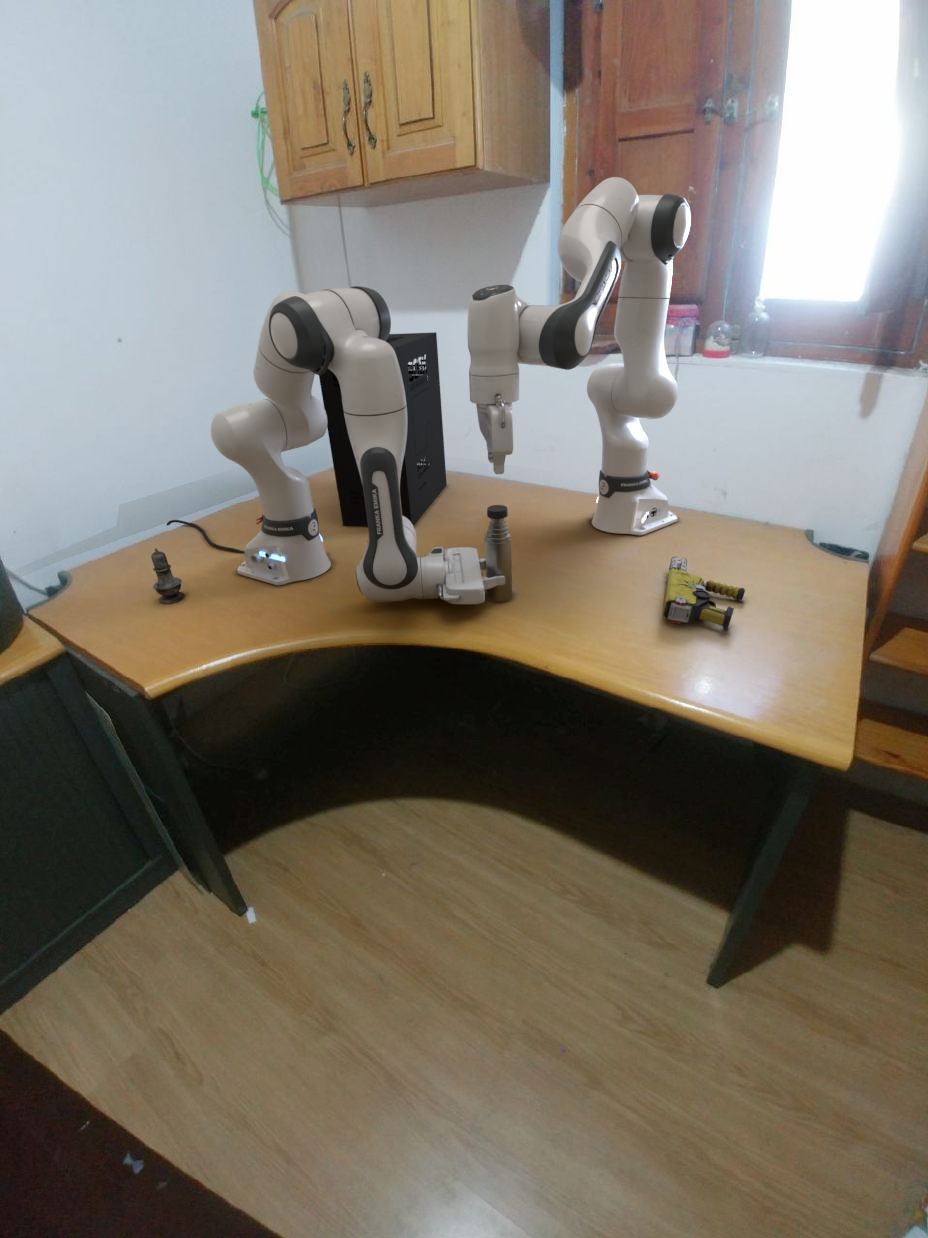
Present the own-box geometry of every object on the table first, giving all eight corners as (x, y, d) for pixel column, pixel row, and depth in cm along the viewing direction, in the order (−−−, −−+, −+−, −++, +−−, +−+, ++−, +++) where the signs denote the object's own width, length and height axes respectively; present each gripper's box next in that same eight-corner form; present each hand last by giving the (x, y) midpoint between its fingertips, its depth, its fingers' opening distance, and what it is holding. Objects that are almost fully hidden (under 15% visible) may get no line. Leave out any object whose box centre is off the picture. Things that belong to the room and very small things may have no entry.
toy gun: (744, 566, 127) (671, 553, 131) (753, 616, 107) (666, 600, 111) (738, 586, 129) (666, 573, 133) (745, 639, 109) (660, 622, 113)
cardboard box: (411, 527, 164) (393, 348, 142) (343, 525, 169) (314, 350, 146) (446, 484, 196) (436, 332, 173) (387, 483, 200) (370, 334, 178)
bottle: (515, 593, 129) (515, 507, 119) (506, 604, 125) (504, 516, 115) (493, 589, 131) (490, 504, 121) (482, 599, 127) (479, 513, 117)
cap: (510, 513, 119) (510, 505, 119) (502, 520, 116) (502, 512, 116) (492, 511, 121) (492, 503, 120) (484, 517, 118) (483, 510, 117)
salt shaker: (175, 604, 132) (159, 554, 126) (152, 603, 133) (134, 553, 127) (191, 592, 137) (176, 543, 131) (168, 591, 138) (152, 542, 132)
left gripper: (436, 585, 114) (508, 580, 114) (434, 543, 132) (497, 539, 132) (438, 614, 117) (509, 609, 118) (436, 570, 135) (498, 565, 135)
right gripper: (522, 399, 98) (522, 482, 105) (503, 380, 116) (504, 452, 123) (483, 401, 98) (486, 484, 105) (470, 382, 116) (473, 454, 122)
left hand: (503, 572), depth 125 cm, fingers closed on bottle, 5 cm apart
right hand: (495, 467), depth 114 cm, fingers open, 6 cm apart
